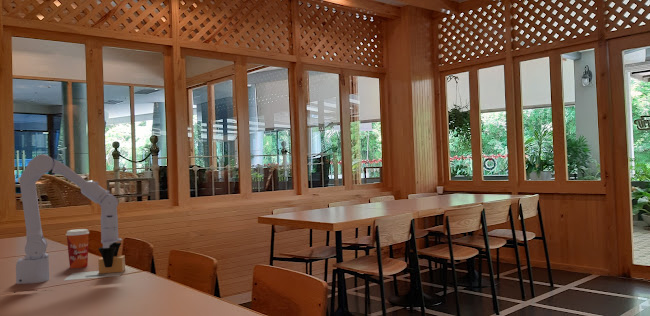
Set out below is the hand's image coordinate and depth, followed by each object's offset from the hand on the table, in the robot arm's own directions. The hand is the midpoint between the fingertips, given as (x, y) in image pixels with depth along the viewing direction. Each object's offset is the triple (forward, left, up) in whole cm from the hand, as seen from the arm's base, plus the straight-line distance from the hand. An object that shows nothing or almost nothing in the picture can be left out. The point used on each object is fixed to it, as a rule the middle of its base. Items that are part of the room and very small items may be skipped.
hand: (110, 264), depth 185 cm
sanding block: (0, 0, -2) cm, 2 cm away
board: (-4, -3, -3) cm, 6 cm away
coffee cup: (-14, +15, -4) cm, 21 cm away
